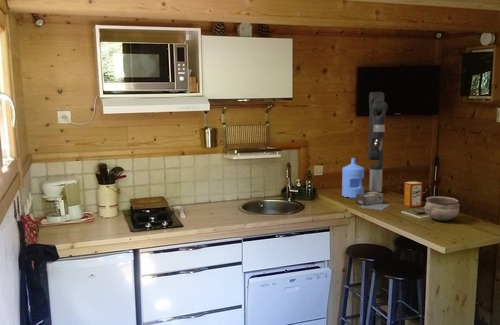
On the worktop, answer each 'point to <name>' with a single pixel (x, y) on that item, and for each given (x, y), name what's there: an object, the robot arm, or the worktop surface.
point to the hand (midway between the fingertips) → (378, 155)
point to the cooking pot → (442, 208)
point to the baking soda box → (413, 194)
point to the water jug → (352, 179)
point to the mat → (375, 206)
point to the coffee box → (369, 198)
